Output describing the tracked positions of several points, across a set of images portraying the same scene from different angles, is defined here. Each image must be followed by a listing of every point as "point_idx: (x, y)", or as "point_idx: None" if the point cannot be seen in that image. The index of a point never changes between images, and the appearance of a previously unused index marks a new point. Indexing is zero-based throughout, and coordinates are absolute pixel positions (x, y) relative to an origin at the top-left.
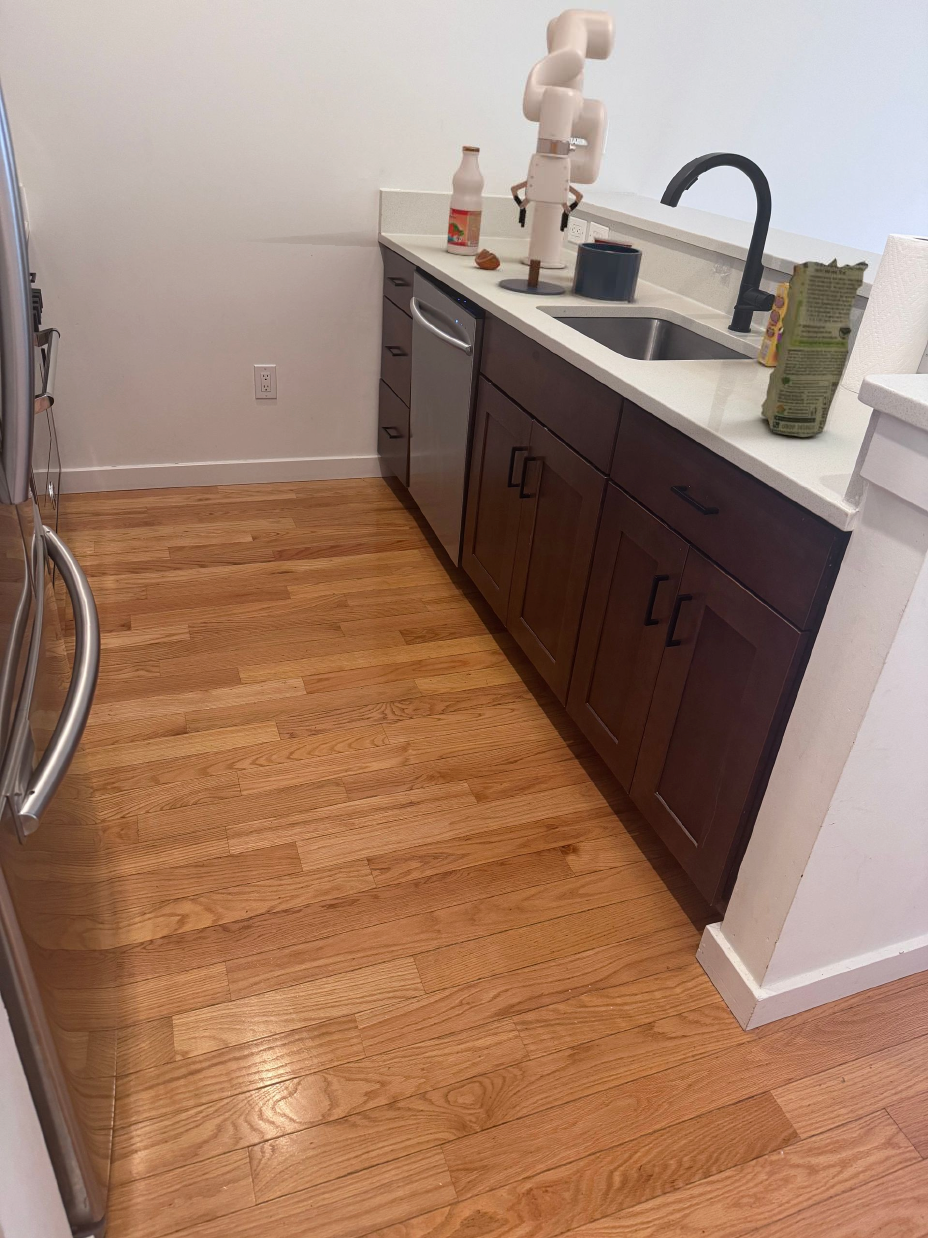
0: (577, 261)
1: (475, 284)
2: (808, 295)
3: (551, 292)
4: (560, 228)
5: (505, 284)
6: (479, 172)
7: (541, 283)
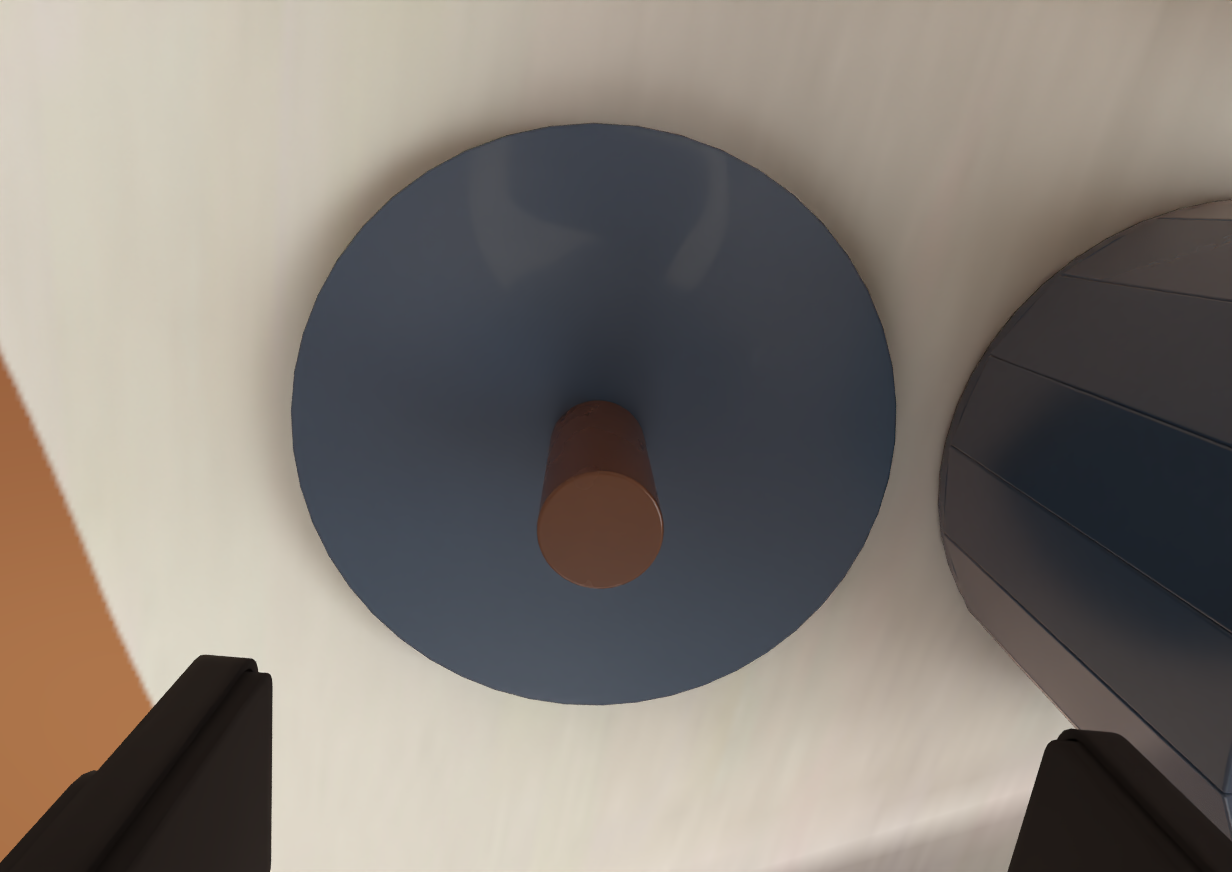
0: (1098, 600)
1: (91, 353)
2: None
3: (710, 676)
4: (1047, 813)
5: (343, 496)
6: None
7: (714, 303)
